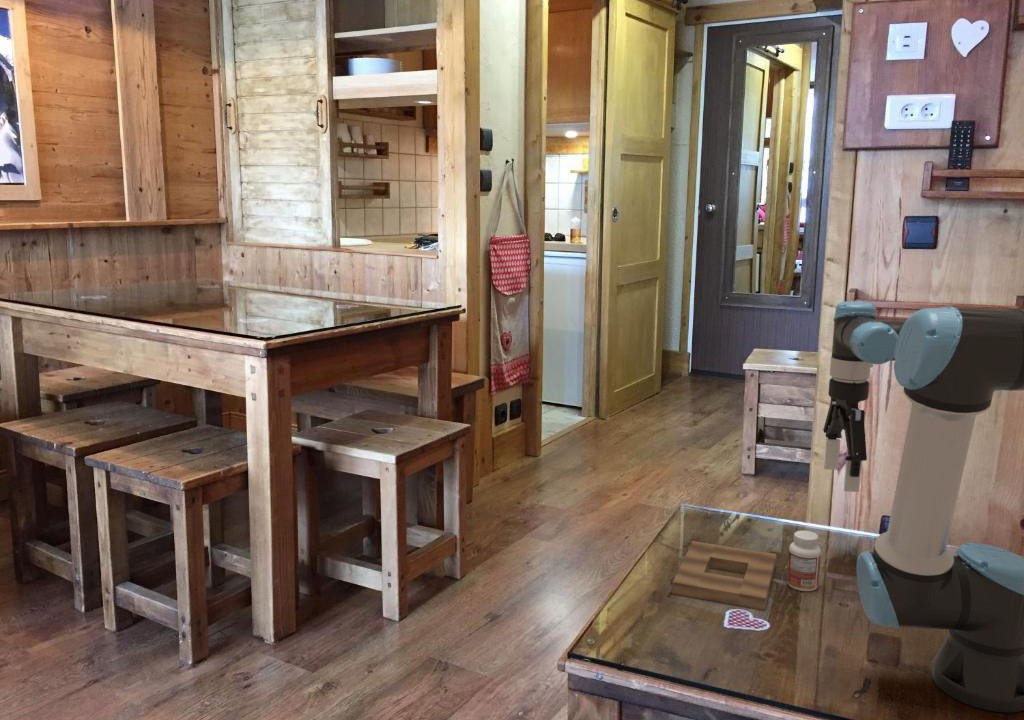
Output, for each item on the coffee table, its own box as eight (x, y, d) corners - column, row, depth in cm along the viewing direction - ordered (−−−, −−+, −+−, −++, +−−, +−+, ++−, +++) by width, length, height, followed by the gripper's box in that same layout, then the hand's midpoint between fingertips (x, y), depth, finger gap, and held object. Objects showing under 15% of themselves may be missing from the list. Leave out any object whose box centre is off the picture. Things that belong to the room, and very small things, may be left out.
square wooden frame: (764, 610, 169) (765, 598, 168) (672, 593, 175) (672, 582, 175) (775, 564, 189) (776, 554, 188) (692, 551, 195) (692, 541, 195)
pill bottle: (797, 576, 184) (801, 526, 181) (824, 586, 179) (828, 535, 177) (780, 584, 180) (784, 533, 178) (807, 595, 175) (811, 543, 173)
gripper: (891, 394, 163) (880, 501, 167) (849, 366, 187) (840, 461, 192) (850, 393, 164) (840, 500, 168) (813, 365, 188) (805, 460, 192)
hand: (840, 479), depth 180 cm, fingers open, 13 cm apart
